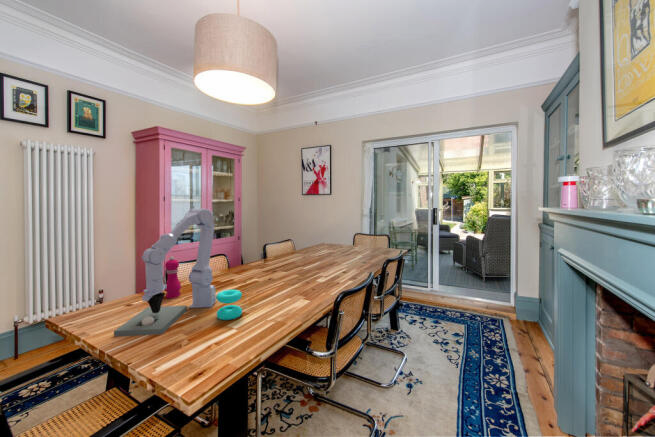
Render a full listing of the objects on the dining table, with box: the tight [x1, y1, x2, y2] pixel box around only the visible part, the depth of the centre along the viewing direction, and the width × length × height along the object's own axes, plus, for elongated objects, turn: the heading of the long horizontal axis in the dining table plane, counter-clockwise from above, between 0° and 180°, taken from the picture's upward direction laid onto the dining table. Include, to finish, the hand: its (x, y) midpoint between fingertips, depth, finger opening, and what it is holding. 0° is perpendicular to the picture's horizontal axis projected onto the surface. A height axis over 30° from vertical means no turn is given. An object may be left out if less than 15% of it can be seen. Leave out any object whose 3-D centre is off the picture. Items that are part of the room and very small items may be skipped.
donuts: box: [216, 288, 243, 321], centre depth 114 cm, size 10×10×10 cm
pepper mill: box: [164, 256, 182, 299], centre depth 137 cm, size 7×7×20 cm
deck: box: [113, 305, 188, 337], centre depth 108 cm, size 16×22×2 cm
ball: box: [142, 316, 154, 326], centre depth 104 cm, size 4×4×4 cm
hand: (156, 312), depth 110 cm, fingers closed
